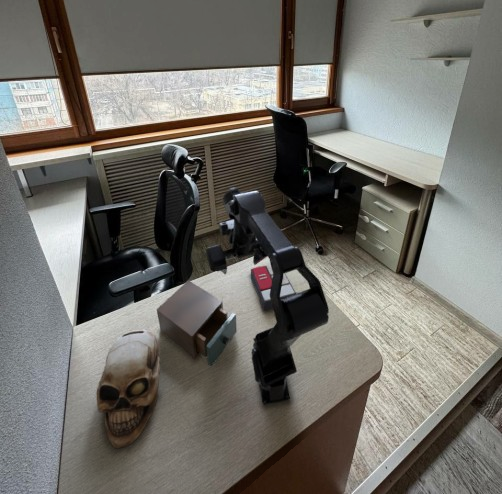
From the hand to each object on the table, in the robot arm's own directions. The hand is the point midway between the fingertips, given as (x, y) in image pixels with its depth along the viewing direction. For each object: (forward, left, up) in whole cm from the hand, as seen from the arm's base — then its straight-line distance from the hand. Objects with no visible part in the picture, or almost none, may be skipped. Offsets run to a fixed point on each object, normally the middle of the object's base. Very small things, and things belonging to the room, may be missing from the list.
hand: (239, 268), depth 77 cm
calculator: (+6, -12, -17) cm, 22 cm away
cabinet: (-4, +15, -17) cm, 23 cm away
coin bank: (-18, +27, -17) cm, 37 cm away
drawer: (-8, +10, -16) cm, 20 cm away
